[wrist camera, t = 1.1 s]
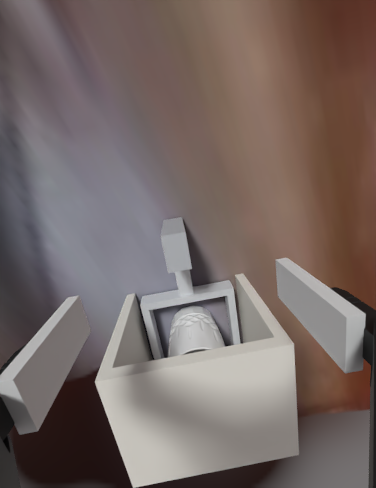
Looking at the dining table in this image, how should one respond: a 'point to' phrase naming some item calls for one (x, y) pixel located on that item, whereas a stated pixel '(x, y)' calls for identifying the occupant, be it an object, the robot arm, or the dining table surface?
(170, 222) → the square frame with handle
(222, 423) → the tunnel
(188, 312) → the white cup
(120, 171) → the dining table surface
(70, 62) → the dining table surface
